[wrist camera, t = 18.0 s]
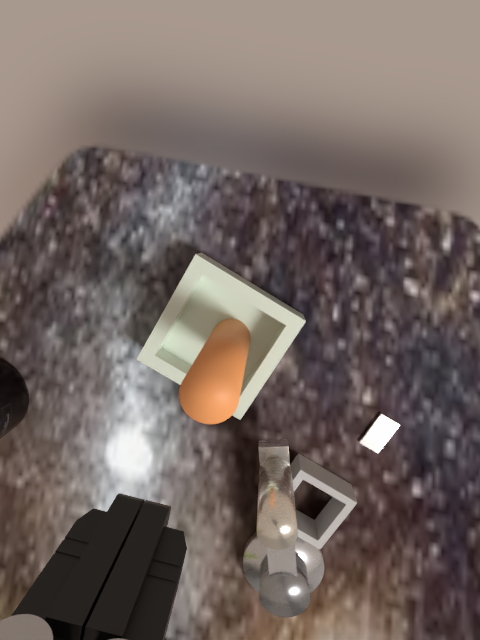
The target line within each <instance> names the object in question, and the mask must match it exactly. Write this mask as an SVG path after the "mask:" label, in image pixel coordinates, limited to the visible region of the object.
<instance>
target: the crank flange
mask: <svg viewBox="0 0 480 640" xmlns="http://www.w3.org/2000/svg"><path fill="white" fill-rule="evenodd" d="M399 427H400V424H399V423H397V422H395V421H394V420H392V419H390V418H389V417H387V416H385V415H384V414H382V413H380V414H379V416H378V417H377V418H376V420H375V421H374V422H373V424H372V425H371V426H370V428H369V429H368V430H367V432H366V433H365V434H364V435H363V437H362V438H361V439H360V441H359V443H361V444H363V445H364V446H366V447H368V448H369V449H371V450H373V451H374V452H376V453H379V452H380V451H381V450H382V448H383V447H384V446H385V444H386V443H387V442H388V441H389V439H390V438H391V437H392V436H393V434H394V433H395V432H396V430H397V429H398V428H399ZM295 551H296V554H297V555H299V556H300V557H301V558H302V559H303V560H304V562H305V564H306V567H307V575H308V584H309V593H311V592H312V591H313V590H315V589H316V587H317V586H318V585H319V584H320V582H321V580H322V577H323V574H324V562H323V556H322V551H321V549H318V548H316V547H315V546H313V545H311V544H310V543H308V542H306V541H304V540H303V539H301V538H299V537H297V539H296V541H295ZM265 556H267V547H266V546H264V545H263V544H262V543H261V542H260V541H259V539H258V537H257V531H256V532H255V533H254V534H253V535H252V536H251V537H250V538H249V540H248V541H247V543H246V545H245V548H244V556H243V570H244V574H245V577H246V579H247V581H248V582H249V583H250V585H251V586H252V587H253V588H254V589H255V590H256V591H258V592H259V588H260V565H261V562H262V560H263V559H264V557H265Z"/></svg>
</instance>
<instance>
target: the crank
mask: <svg viewBox="0 0 480 640" xmlns="http://www.w3.org/2000/svg"><path fill="white" fill-rule="evenodd" d="M258 448H259V460H260V468H259V485H258V509H257V537H258V539H259V541H260V542H261V543H262V544H263V545H264V546H266V547H267V556H265V557H264V559H263V560H262V562H261V565H260V588H259V598H260V602H261V604H262V605H263V607H264V608H265V609H266V610H267V611H268V612H270V613H271V614H273V615H276V616H279V617H293V616H296V615H299V614H300V613H302V612H303V611H304V610H305V609H306V608H307V607H308V605H309V602H310V593H309V584H308V575H307V567H306V564H305V562H304V560H303V559H302V558H301V557H300V556H299V555H297V554H296V551H295V541H296V539H297V536H298V530H297V520H296V510H295V500H294V490H293V480H292V470H291V466H290V459H289V445H288V439H280V440H259V446H258Z"/></svg>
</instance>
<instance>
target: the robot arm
mask: <svg viewBox="0 0 480 640" xmlns="http://www.w3.org/2000/svg"><path fill="white" fill-rule="evenodd" d="M170 510H171V506H167V505H163V504H160V503H156V502H152V501H148V500H146V501H144V500H143V499H139V498H135V497H131V496H127V495H124V494H118V495H117V496H116V498H115V500H114V501H113V503H112V505H111V507H110V508H109V510H108V512H105V511H101V510H97V509H92V510H91V511H89V512H88V513H86V514H85V515H84V516H82V517H81V518H79V519H78V520H77V521H76V522H75V524H74V525H73V526H72V528H71V529H70V531H69V532H68V534H67V535H66V537H65V539H64V540H63V541H62V543H61V544H60V546H59V547H58V548H57V550H56V552H55V554H53V556H52V557H51V559H50V560H49V562H48V563H47V565H46V566H45V568H44V569H43V570H42V572H41V573H40V575H39V576H38V578H37V579H36V581H35V582H34V584H33V585H32V587H31V588H30V590H29V591H28V592H27V594H26V595H25V597H24V598H23V600H22V601H21V603H20V604H19V606H18V607H17V609H16V610H15V611H14V613H13V614H12V615H11V616H10V617H8V618H5V619H3V620H1V621H0V640H164V638H165V635H166V631H167V627H168V623H169V619H170V615H171V612H172V608H173V604H174V600H175V596H176V592H177V588H178V584H179V580H180V575H181V571H182V567H183V563H184V558H185V554H186V550H187V547H186V542H185V537H184V532H183V531H180V530H176V529H172V528H168V527H167V525H168V520H169V515H170Z"/></svg>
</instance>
